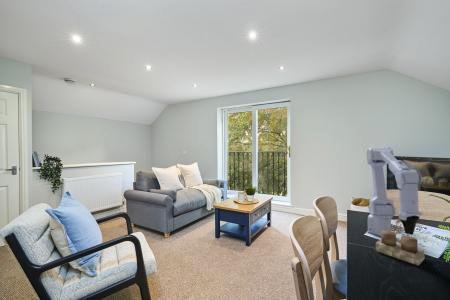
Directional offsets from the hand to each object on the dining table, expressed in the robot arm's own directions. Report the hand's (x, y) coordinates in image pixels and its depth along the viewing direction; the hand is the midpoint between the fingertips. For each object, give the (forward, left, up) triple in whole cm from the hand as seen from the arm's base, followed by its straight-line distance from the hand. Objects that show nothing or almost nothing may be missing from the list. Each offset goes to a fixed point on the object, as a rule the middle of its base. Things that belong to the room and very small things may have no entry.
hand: (409, 233), depth 83 cm
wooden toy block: (-3, 0, -10) cm, 11 cm away
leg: (0, 0, -10) cm, 10 cm away
